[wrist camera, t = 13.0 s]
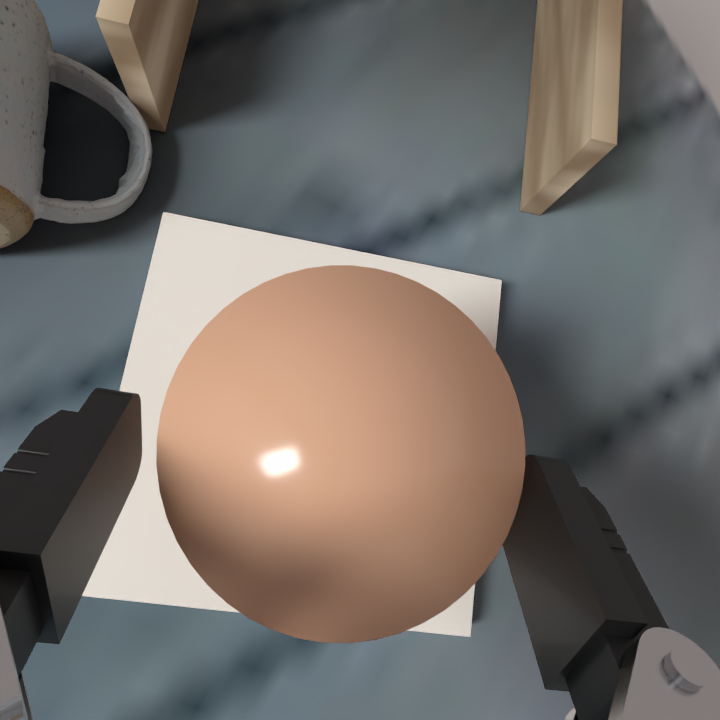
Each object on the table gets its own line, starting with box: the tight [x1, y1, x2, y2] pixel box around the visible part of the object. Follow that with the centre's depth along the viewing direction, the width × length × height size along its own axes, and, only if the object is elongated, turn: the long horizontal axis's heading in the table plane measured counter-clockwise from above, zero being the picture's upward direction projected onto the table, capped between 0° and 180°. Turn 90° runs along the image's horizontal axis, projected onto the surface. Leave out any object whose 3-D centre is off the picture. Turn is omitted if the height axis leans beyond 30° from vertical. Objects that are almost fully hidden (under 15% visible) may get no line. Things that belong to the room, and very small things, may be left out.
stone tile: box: [82, 212, 502, 637], centre depth 20 cm, size 14×14×1 cm
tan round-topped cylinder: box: [156, 265, 525, 643], centre depth 14 cm, size 7×7×10 cm
